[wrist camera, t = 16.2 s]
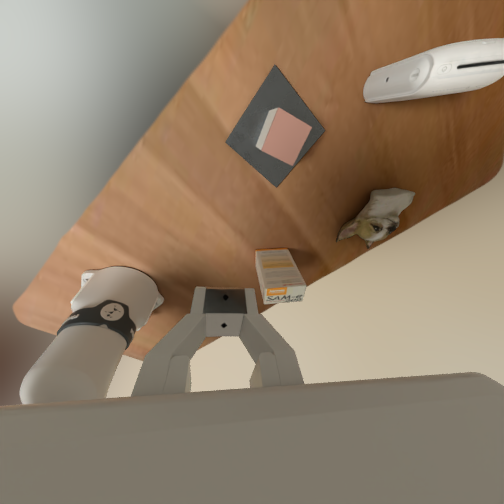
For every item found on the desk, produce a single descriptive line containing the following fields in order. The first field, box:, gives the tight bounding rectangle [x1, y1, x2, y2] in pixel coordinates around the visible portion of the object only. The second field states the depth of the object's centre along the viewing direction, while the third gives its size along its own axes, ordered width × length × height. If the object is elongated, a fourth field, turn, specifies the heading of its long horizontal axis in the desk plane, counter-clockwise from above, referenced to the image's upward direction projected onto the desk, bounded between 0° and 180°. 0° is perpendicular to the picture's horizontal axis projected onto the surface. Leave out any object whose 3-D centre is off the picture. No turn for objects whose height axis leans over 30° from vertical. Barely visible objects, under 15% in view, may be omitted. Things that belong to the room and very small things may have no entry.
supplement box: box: [255, 248, 307, 304], centre depth 40 cm, size 8×5×13 cm, turn 89°
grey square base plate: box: [226, 65, 325, 187], centre depth 28 cm, size 12×12×6 cm
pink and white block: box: [256, 108, 312, 166], centre depth 27 cm, size 5×5×7 cm
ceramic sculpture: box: [336, 188, 415, 249], centre depth 38 cm, size 11×9×15 cm
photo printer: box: [363, 38, 504, 103], centre depth 23 cm, size 10×4×12 cm, turn 96°
